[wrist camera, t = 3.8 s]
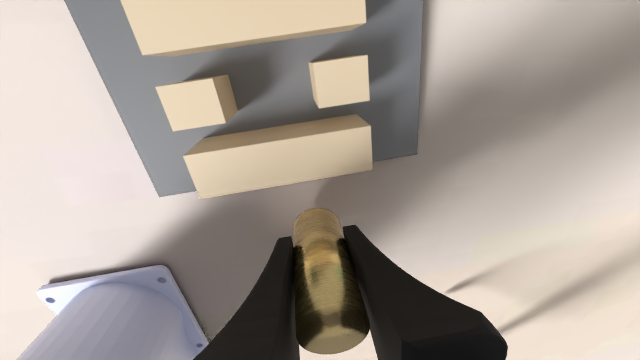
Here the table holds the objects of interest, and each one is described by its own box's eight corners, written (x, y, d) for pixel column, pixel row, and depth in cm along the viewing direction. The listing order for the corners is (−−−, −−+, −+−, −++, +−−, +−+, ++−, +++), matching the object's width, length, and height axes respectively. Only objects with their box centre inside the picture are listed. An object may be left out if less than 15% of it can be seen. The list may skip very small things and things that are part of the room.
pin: (341, 241, 15) (371, 346, 9) (297, 249, 15) (302, 360, 9) (337, 204, 14) (368, 298, 8) (289, 212, 13) (289, 313, 8)
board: (409, 148, 15) (441, 172, 12) (167, 188, 14) (132, 224, 11) (419, -243, 8) (494, -420, 5) (-9, -196, 8) (-204, -363, 5)
